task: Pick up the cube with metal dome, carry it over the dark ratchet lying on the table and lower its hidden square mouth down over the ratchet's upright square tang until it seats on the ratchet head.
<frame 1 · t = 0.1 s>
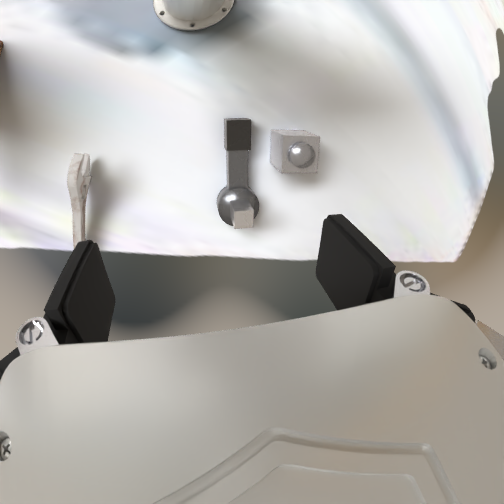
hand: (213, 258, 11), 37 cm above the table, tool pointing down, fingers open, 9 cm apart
wrench: (84, 223, 45), on the table
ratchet: (236, 201, 49), on the table
cube with metal dome: (287, 146, 46), on the table
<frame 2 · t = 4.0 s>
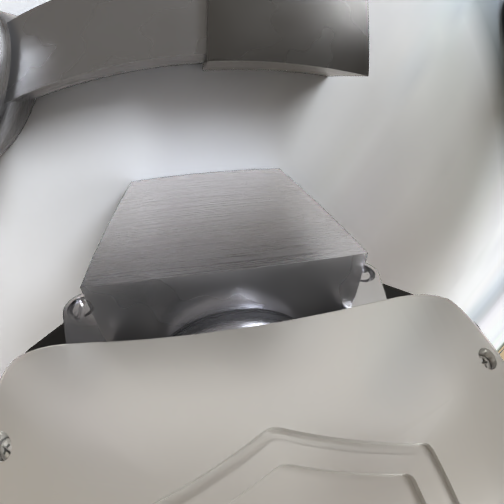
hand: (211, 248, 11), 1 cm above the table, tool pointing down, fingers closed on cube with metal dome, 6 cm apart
cube with metal dome: (210, 238, 12), on the table, touching gripper
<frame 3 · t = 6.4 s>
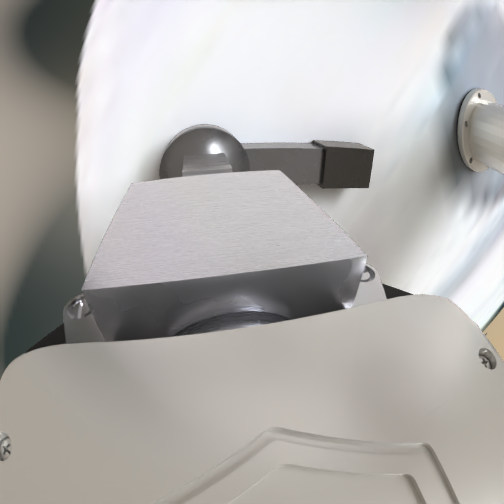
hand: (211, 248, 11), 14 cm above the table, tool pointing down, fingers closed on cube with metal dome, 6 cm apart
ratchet: (203, 163, 23), on the table
cube with metal dome: (210, 240, 12), point 13 cm above the table, touching gripper
when the fingers open (4 cm above the table, at t = 8.8 s): cube with metal dome stays where it is, resting on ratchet.
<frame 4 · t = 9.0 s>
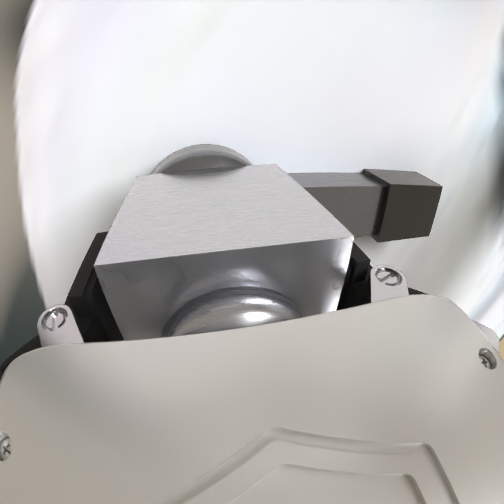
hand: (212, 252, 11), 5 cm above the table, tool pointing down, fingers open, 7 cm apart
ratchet: (204, 205, 15), on the table
cube with metal dome: (211, 231, 13), point 3 cm above the table, touching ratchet
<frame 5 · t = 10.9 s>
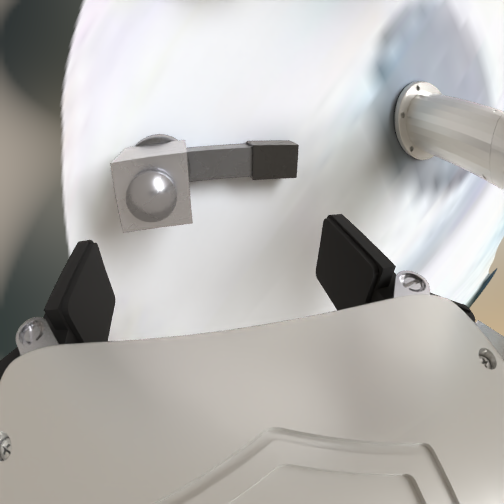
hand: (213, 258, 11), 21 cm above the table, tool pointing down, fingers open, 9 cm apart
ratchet: (158, 165, 28), on the table
cube with metal dome: (157, 172, 26), point 3 cm above the table, touching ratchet
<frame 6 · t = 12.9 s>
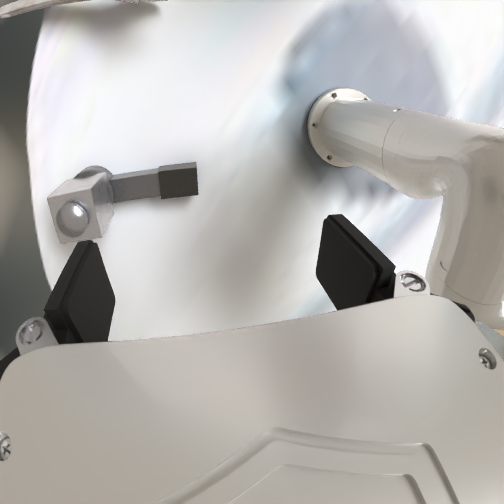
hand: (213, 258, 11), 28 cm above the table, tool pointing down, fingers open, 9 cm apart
wrench: (78, 1, 18), on the table
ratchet: (95, 189, 34), on the table
cube with metal dome: (89, 196, 32), point 3 cm above the table, touching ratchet
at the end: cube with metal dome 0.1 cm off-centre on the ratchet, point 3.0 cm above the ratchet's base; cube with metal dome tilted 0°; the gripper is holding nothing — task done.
